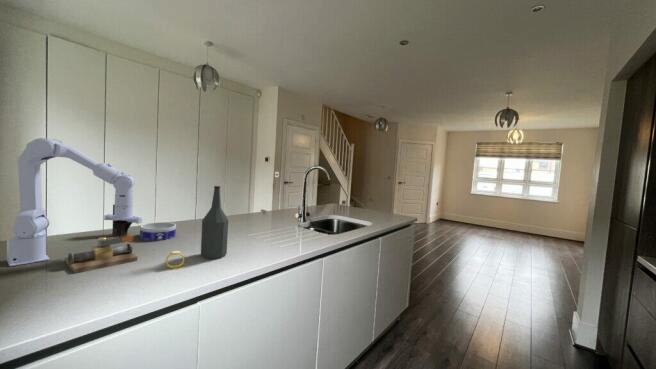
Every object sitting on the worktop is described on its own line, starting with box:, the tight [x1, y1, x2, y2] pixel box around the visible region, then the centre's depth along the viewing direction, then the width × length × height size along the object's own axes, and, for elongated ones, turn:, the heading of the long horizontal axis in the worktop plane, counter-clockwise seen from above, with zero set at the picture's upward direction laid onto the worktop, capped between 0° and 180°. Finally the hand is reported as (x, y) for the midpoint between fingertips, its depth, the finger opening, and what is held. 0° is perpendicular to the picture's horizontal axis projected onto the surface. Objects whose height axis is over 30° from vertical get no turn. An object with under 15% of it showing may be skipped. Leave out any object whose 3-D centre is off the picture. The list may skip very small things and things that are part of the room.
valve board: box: [63, 243, 138, 274], centre depth 102 cm, size 18×14×6 cm
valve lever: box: [97, 233, 134, 247], centre depth 105 cm, size 11×3×3 cm, turn 153°
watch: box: [165, 250, 185, 269], centre depth 102 cm, size 6×3×6 cm, turn 122°
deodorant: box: [112, 204, 129, 237], centre depth 134 cm, size 6×6×15 cm
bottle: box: [200, 185, 229, 260], centre depth 116 cm, size 10×10×30 cm
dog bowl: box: [139, 221, 177, 242], centre depth 137 cm, size 15×15×6 cm
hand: (122, 239), depth 109 cm, fingers closed, pressing on valve lever
